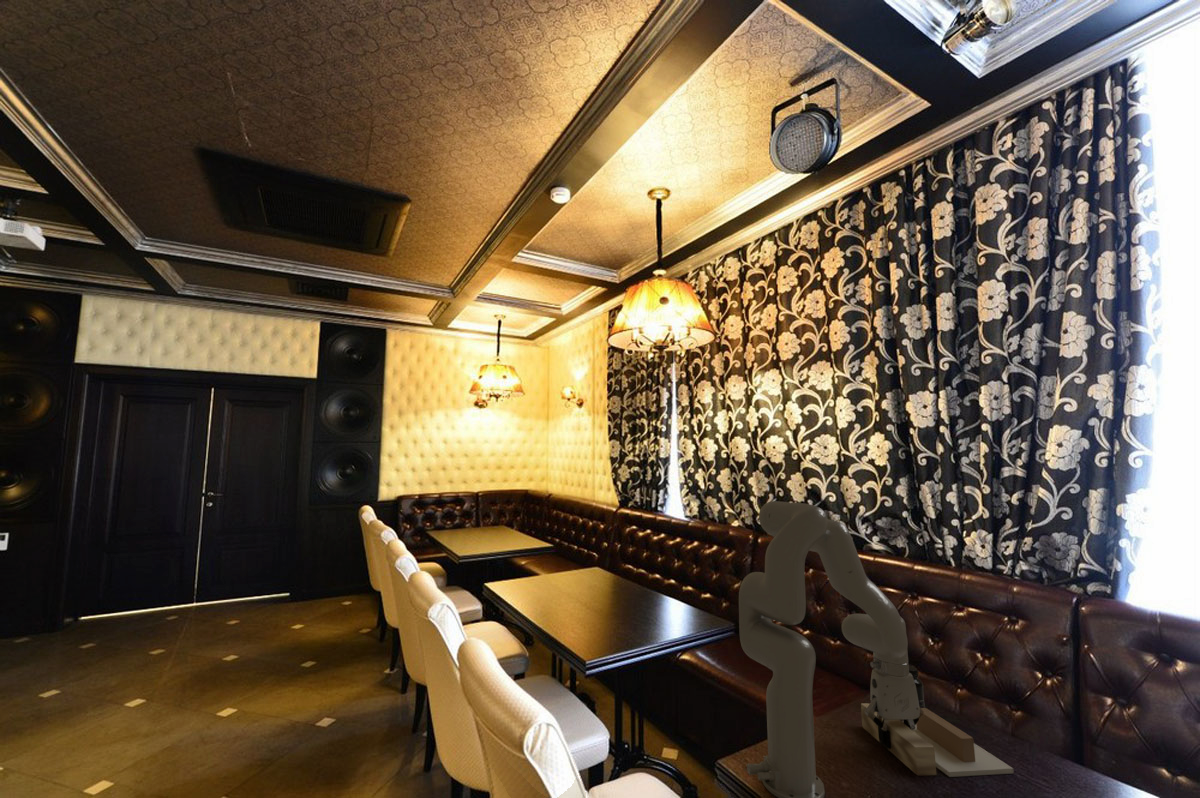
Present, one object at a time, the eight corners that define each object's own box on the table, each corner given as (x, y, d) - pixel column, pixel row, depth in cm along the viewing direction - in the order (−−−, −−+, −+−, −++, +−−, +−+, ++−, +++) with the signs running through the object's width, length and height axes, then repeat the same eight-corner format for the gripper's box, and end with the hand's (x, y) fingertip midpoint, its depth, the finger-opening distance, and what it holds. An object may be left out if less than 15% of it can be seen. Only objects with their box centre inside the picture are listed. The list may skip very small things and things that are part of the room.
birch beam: (936, 776, 105) (934, 746, 106) (917, 776, 105) (915, 747, 106) (878, 727, 125) (877, 703, 126) (862, 727, 125) (860, 703, 126)
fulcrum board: (949, 776, 105) (946, 747, 106) (885, 728, 124) (884, 703, 125) (1013, 773, 106) (1010, 744, 107) (941, 725, 126) (939, 701, 127)
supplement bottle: (929, 721, 128) (925, 674, 130) (900, 716, 130) (897, 670, 132) (921, 709, 135) (917, 664, 137) (893, 704, 137) (890, 661, 139)
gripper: (869, 673, 113) (874, 756, 111) (934, 671, 115) (940, 752, 112) (849, 661, 121) (854, 738, 118) (911, 659, 122) (916, 735, 120)
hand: (896, 744), depth 115 cm, fingers open, 5 cm apart
